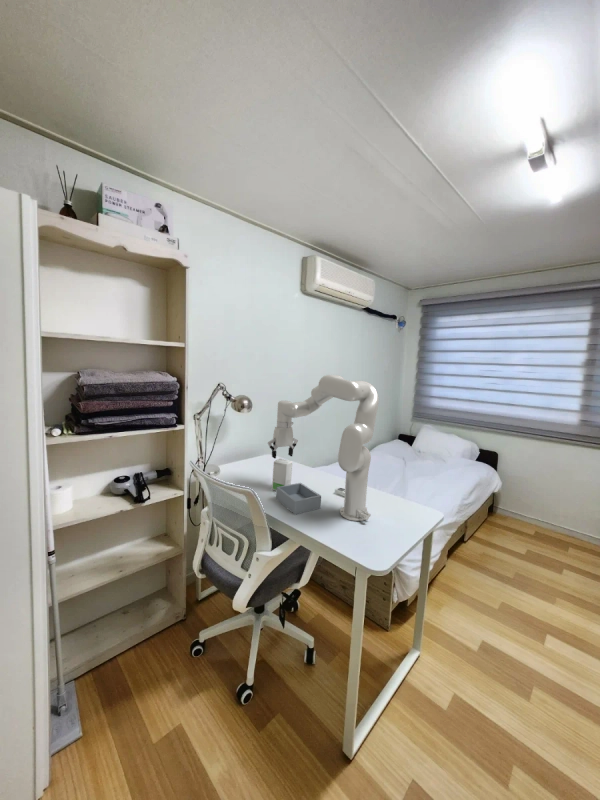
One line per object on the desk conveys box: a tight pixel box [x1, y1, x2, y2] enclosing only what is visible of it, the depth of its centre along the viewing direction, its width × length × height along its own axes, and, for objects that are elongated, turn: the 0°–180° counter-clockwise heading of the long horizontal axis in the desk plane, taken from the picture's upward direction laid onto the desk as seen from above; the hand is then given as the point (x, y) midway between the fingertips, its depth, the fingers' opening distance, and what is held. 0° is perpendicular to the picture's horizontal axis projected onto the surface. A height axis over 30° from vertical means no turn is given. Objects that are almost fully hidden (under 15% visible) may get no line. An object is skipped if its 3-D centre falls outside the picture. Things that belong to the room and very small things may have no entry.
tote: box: [275, 482, 322, 515], centre depth 146 cm, size 18×14×6 cm
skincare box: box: [271, 458, 293, 492], centre depth 162 cm, size 8×7×16 cm
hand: (282, 456), depth 161 cm, fingers open, 9 cm apart
